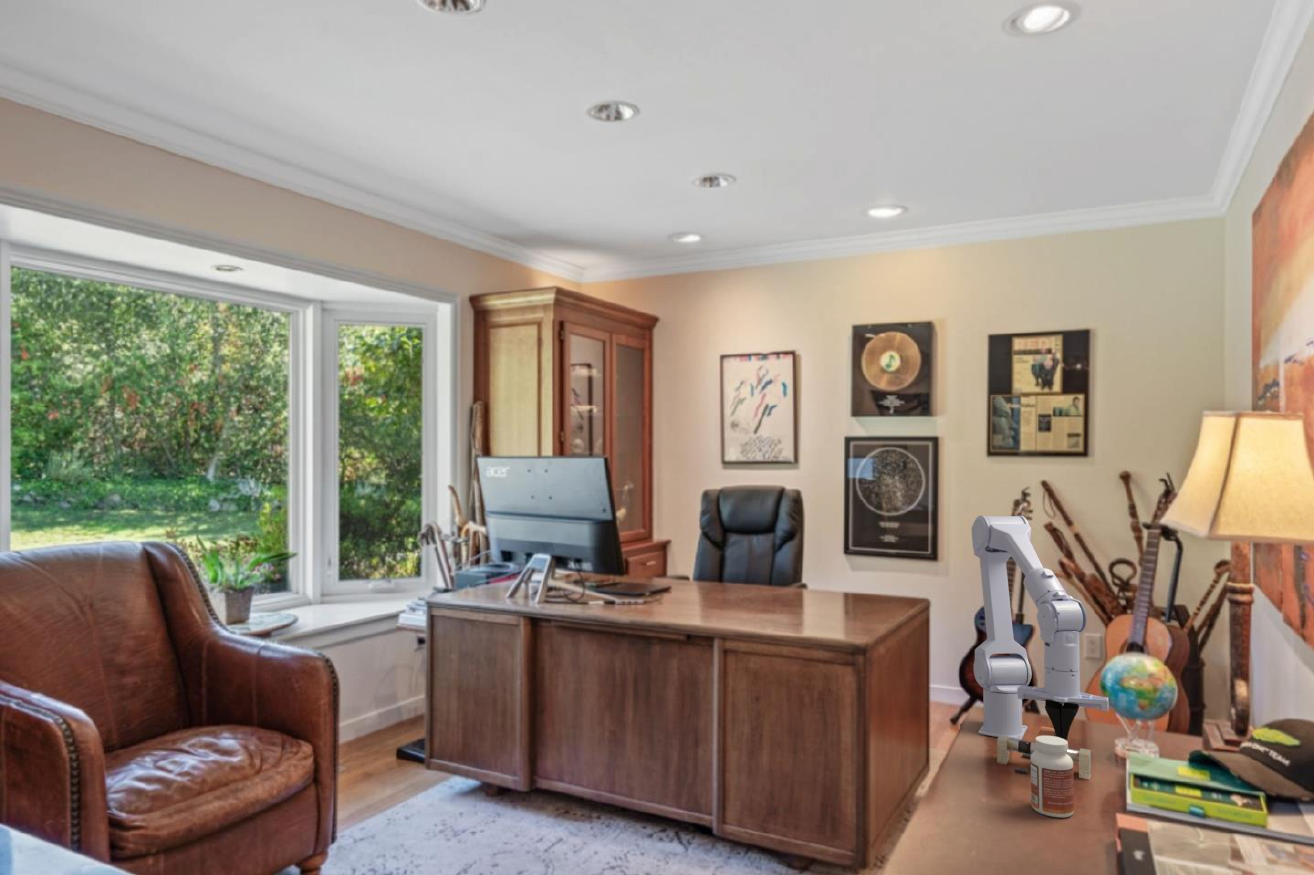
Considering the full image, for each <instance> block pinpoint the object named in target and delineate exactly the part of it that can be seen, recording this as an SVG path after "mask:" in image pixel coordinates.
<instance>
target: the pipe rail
mask: <svg viewBox="0 0 1314 875" xmlns="http://www.w3.org/2000/svg"><path fill="white" fill-rule="evenodd" d="M1036 750H1037V748H1036V747H1035V742H1032V741H1026V740H1013V739H1009V736H1004V735H1000V736H999V737H997V739H996V753H997V754H996V755H997V756H996V759H997V760H996V762H997V763H996V764H1001V765H1008V763H1009V761H1010V751H1012V752H1017V753H1020V754H1022V755H1021V758H1022V759H1028V760H1031V754H1032V753H1033V752H1034V751H1036ZM1066 754H1067V755H1069V756H1070V757H1071V759H1072V761H1073V763H1078V778H1079V779H1083V780H1087V781H1088V780H1090V778H1091V775H1092V772H1091V768H1092V766H1091V765H1092V764H1091V763H1092V761H1091V760H1092V759H1091V755H1092V754H1091V749H1087V748H1081V747H1080V749H1079V750H1078V749H1073V748H1068V752H1067V753H1066ZM1014 773H1017V774H1021V775H1025V776H1026V775H1027V776H1028V774H1029V769H1025V768H1020V767H1015V769H1014Z"/></svg>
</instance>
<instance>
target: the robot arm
mask: <svg viewBox="0 0 1314 875" xmlns="http://www.w3.org/2000/svg"><path fill="white" fill-rule="evenodd" d="M975 518H976V519H975V520H974V521H973V523H972V527H971V538H972V539H971V540H972V549H973V555H974V556H975V557H977V558H979V565H980V566H979V567H980V575H981V576H980V577H981V588H982V589H981V590H982V598H983V610H984V619H985V620H984V621H985V629H986V640H984V641H983V642H982V643H980V645H978V646H977V647H976V648H975V649H974V663H973V675H974V678H975V681H976V682H977V684H978V685H979V686H980V687H981V688H983V689H982V690H983V696H982V697H983V724H982V726H981V727H980V729H978V734H979V735H984V736H990V737H996V738H998V737H999V736H1000V735H1004V736H1009V739H1013V740H1021V741H1023V740H1022V739H1023V738H1024V736H1025V734H1026V733H1027V730H1028V726H1027V725H1025V724H1024V725H1023V700H1024V699H1025V700H1026V699H1027V700H1031V701H1033V700H1034V701H1040V702H1044V703H1045V704H1044V709H1045V711H1046V714H1047V716H1048V717H1049V719H1050V722H1051V724H1052V728H1054V730H1055V733H1056V737H1059V738H1062V739H1065V740H1066V741H1067V742H1068V737H1069V733H1070V729H1071V727H1072V723H1073V722H1074V719H1075V718H1076V716H1077V714H1078V712H1079V708H1080V707H1082V708H1089V709H1095V710H1096V709H1097V710H1100V711H1102V712H1109V703H1110V702H1109V697H1108V696H1107V697H1106V696H1100V695H1094V694H1090V693H1087V692H1081V680H1080V679H1081V678H1080V677H1081V676H1080V675H1081V674H1080V672H1081V671H1080V670H1081V669H1080V668H1081V667H1080V665H1081V664H1080V663H1081V660H1080V659H1081V658H1080V654H1081V653H1080V652H1081V651H1080V633H1082V632H1084V631H1085V629H1086V628H1087V622H1088V621H1087V620H1088V617H1087V612H1086V609H1085V606H1084V605H1083V603H1082V601H1080V600H1079V599H1077V598H1074V597H1073V596H1072V595H1068V594H1067V592H1066V590H1065V589H1064V587H1063V585H1062V584H1061V582H1060V581H1059V580H1058V578H1057V576H1056V575H1055V573H1054V571H1052V570H1051V569H1049V568H1045V567H1044V566H1043V565H1042V563H1041V561H1040V560H1041V559H1039V556H1038V555H1037V553H1036V550H1035V549H1034V548H1035V547H1034V546H1033V544H1032V542H1031V538H1032V527H1031V525H1030V523H1029V521H1028V520H1027V518H1026V517H1025V516H1023V515H1013V516H1012V515H1011V516H1010V515H1009V516H1008V515H1007V516H1006V515H1003V516H1002V515H1001V516H999V515H998V516H997V515H995V516H994V515H993V516H991V515H978V516H977V517H975ZM1010 558H1011V559H1012V560H1013V561H1014V562H1015V564H1016V565H1017V566H1018V568H1019V569H1020V570H1021V573H1023V575H1024V576H1025V577H1024V579H1023V586H1024V588H1025V589H1026V591H1027V593H1028V595H1029V597H1030V598H1031V600H1032V602H1033V603H1034V605H1035V607H1036V609H1037V613H1036V622H1037V624H1038V627H1039V629H1040V631H1039V632H1040V637H1041V641H1043V664H1044V666H1043V668H1044V669H1043V670H1044V672H1043V673H1044V674H1043V677H1044V678H1043V679H1044V682H1043V684H1044V685H1043V687H1041V686H1039V687H1038V686H1029V684H1030V682H1031V679H1032V667H1031V663H1030V662H1029V659H1028V654H1027V650H1026V648H1025V647H1024V646H1022V645H1020V644H1019V643H1018V642H1017V641H1016V640H1014V630H1013V628H1014V627H1013V620H1012V610H1011V600H1010V591H1009V581H1008V569H1007V562H1008V561H1009V559H1010ZM996 654H997V655H996ZM998 654H999V655H998ZM1000 654H1004V655H1000ZM1005 654H1009V655H1005Z"/></svg>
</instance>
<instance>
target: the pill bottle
mask: <svg viewBox="0 0 1314 875" xmlns="http://www.w3.org/2000/svg"><path fill="white" fill-rule="evenodd" d="M1034 743H1035V747H1036V748H1037V750H1036V751H1034V752H1033V753H1032V754H1031V759H1030V793H1031V794H1030V799H1031V800H1030V802H1031V807H1032V809H1033V810H1034V811H1035V812H1037V813H1038V814H1041V815H1044V816H1047V817H1052V818H1060V819H1061V818H1062V819H1063V818H1068V817H1071V816H1072V815H1074V814H1075V789H1074V786H1075V784H1074V780H1075V779H1074V775H1075V774H1074V762H1073V761H1072V759H1071V757H1070V756H1069V755H1067V754H1066V753H1067V752H1068V749H1069V743H1068V740H1067V741H1066V740H1065V739H1062V738H1059V737H1055V736H1038V735H1037V736H1036V737H1035V742H1034Z"/></svg>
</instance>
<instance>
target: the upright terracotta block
mask: <svg viewBox="0 0 1314 875" xmlns="http://www.w3.org/2000/svg"><path fill="white" fill-rule="evenodd" d="M1038 736H1055V737H1056V733H1055V730H1054V727H1047V726H1041V727H1040V730H1039V732H1038V734H1037V737H1038Z"/></svg>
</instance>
